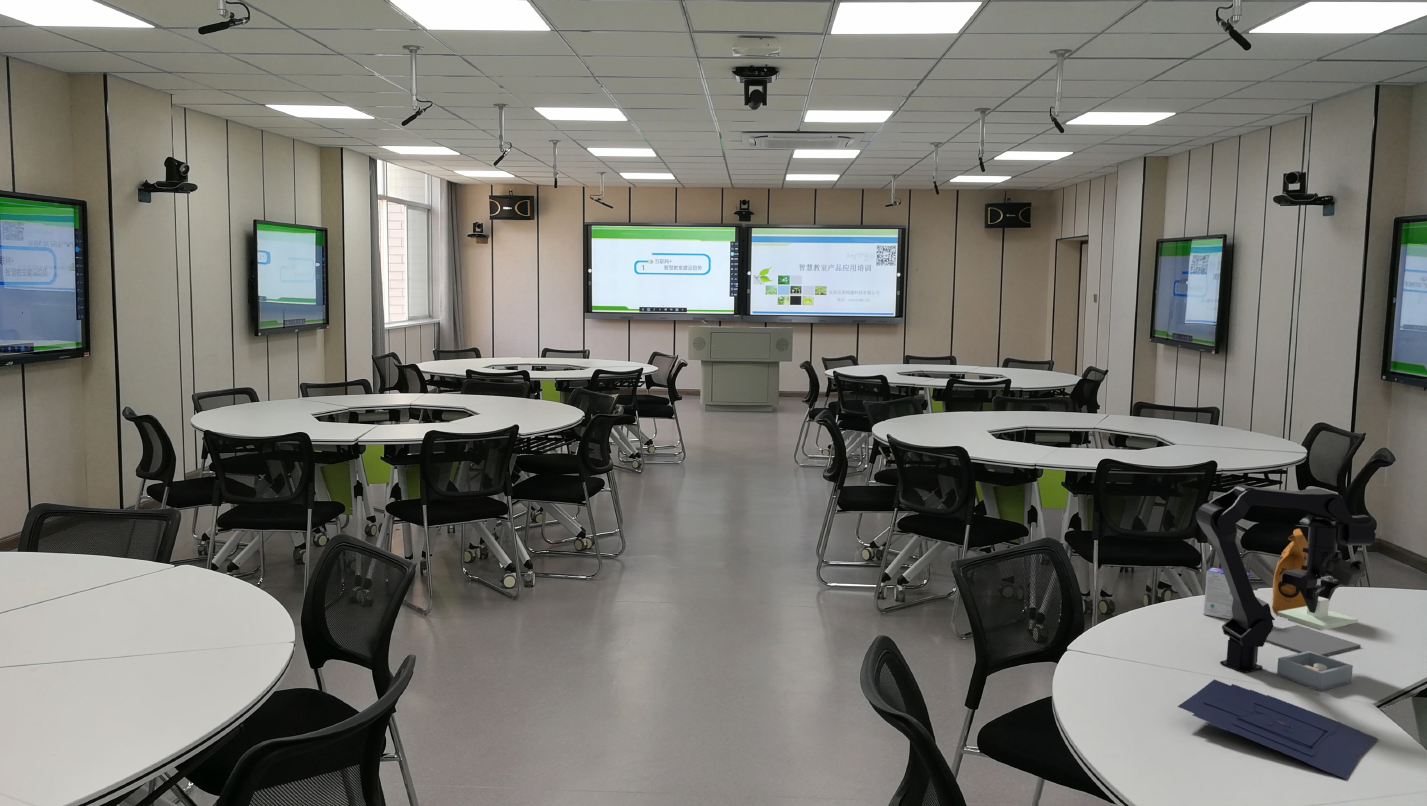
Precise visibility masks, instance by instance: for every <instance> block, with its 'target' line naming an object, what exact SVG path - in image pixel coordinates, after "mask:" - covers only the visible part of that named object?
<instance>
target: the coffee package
mask: <svg viewBox="0 0 1427 806" xmlns="http://www.w3.org/2000/svg"><path fill="white" fill-rule="evenodd" d="M1287 539H1288V540H1289V541H1291V542H1290V543H1289V544H1288V545H1287V546H1286V547H1285V548H1284V549H1283V551H1282V552H1281V555H1280V556H1279V559H1278V561H1277V562H1276V563H1277V564H1276V567H1275V571H1274V575H1273V581H1272V605H1271V606H1272V607H1271V608H1272V611H1273V613H1274V614H1276V615H1277V612H1278V611H1283V610H1289V609H1294V608H1299V607H1305V606H1307V605H1306V603H1305V600H1304V598H1303V596H1302V594H1301V592H1300V590H1299V588H1298V587H1297V586H1293V585H1290V584H1286V583H1283V582H1281V577H1282V573H1283V572H1284V571H1286V570H1292V569H1297V570H1301V571H1305V572H1307V571H1306V570H1302V565H1305V564H1306V560H1307V553H1305V552H1303V547H1308V540H1307V539H1306V537H1305V536H1304V534H1303V532H1302V529H1301V528H1296V529H1294V530H1293V533H1292V534H1291V535H1290V536H1288V538H1287Z"/></svg>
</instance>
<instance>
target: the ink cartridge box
mask: <svg viewBox="0 0 1427 806" xmlns="http://www.w3.org/2000/svg"><path fill="white" fill-rule="evenodd" d="M1205 575H1206V576H1205V588H1204V589H1205V590H1204V592H1205V593H1204V600H1203V601H1204V603H1203V615H1204V616H1205V615H1206V616H1211V617H1216V618H1221V619H1227V620H1229V619H1230V618H1231V617H1233V614H1232V604H1233V597H1232V594H1231V591H1230V588H1229V586H1228V583H1227V580H1226V577H1225V575H1224V572H1223V569H1222V566H1220V568H1217V567H1210V568H1209V569H1208V570H1207V571H1206V574H1205ZM1247 575H1248V577H1249V580H1250V581H1251V579H1250V578H1251V574H1250V572H1247Z"/></svg>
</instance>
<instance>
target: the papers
mask: <svg viewBox="0 0 1427 806" xmlns="http://www.w3.org/2000/svg"><path fill="white" fill-rule="evenodd" d="M1177 708H1180V709H1182V710H1185V711H1187V712H1189V713H1191V714H1192V716H1193V717H1196V718H1198V719H1201V720H1203V721H1205V722H1207V723H1209V724H1211V725H1213V726H1215V727H1218V728H1220V729H1222V730H1225V731H1226V732H1227V731H1228V732H1231V733H1234V734H1236V735H1239V736H1240V737H1243V738H1246V739H1248V740H1251V741H1253V742H1256V743H1258V744H1261V745H1263V746H1266V747H1268V748H1270V749H1272V750H1274V751H1275V750H1276V751H1278V752H1280V753H1283V754H1285V755H1288V756H1290V757H1292V758H1295V759H1297V760H1299V761H1302V762H1303V763H1305V764H1308V765H1310V766H1312V767H1315V768H1317V769H1320V770H1322V771H1325V772H1327V773H1330V774H1333V775H1335V776H1337V777H1340V778H1343V779H1345V780H1346V779H1348V776H1349V775H1350V773H1351V772H1352V770H1353V768H1354V767H1355V765H1356V764H1357V762H1358V760H1359V759H1360V757H1361V756H1362V755H1363V754H1364V753H1365V752H1366V751H1367V750H1368V749H1369V748H1370V747H1371V746H1372V745H1373V744H1374V743H1375V742H1376V741H1378V740H1379V738H1378V737H1376V736H1374V735H1370V734H1368V733H1365V732H1363V731H1361V730H1359V729H1356V728H1354V727H1352V726H1349V725H1347V724H1344V723H1342V722H1341V721H1337V720H1335V719H1333V718H1330V717H1327V716H1324V715H1323V714H1322V715H1321V714H1320V713H1316V712H1314V711H1311V710H1309V709H1306V708H1303V707H1301V706H1298V705H1295V704H1293V703H1290V702H1288V701H1285V700H1282V699H1279V698H1276V697H1274V696H1271V695H1268V694H1267V695H1266V694H1263V693H1261V692H1259V691H1256V690H1252V689H1248V688H1245V687H1242V686H1239V685H1238V684H1234V683H1232V684H1227V683H1225V682H1222V681H1219V680H1218V679H1213V680H1212V681H1210V682H1209V683H1207V684H1206V685H1205V686H1203V688H1201V689H1200V690H1199V691H1197V692H1196V693H1195V694H1193V695H1192V696H1190V697H1188V699H1186V700H1184V701H1183V702H1182V703H1180V704H1178V705H1177Z"/></svg>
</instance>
